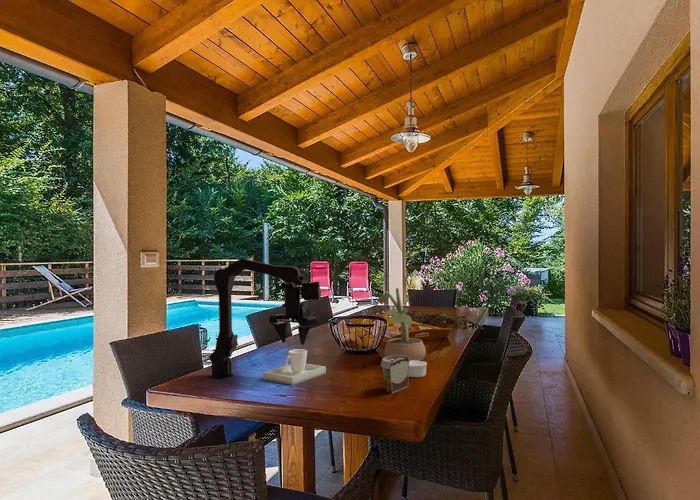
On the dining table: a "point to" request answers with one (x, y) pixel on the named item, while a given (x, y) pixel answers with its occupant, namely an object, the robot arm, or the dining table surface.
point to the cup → (296, 361)
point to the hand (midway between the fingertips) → (293, 343)
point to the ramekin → (417, 368)
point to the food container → (395, 372)
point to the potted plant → (402, 332)
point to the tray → (287, 378)
